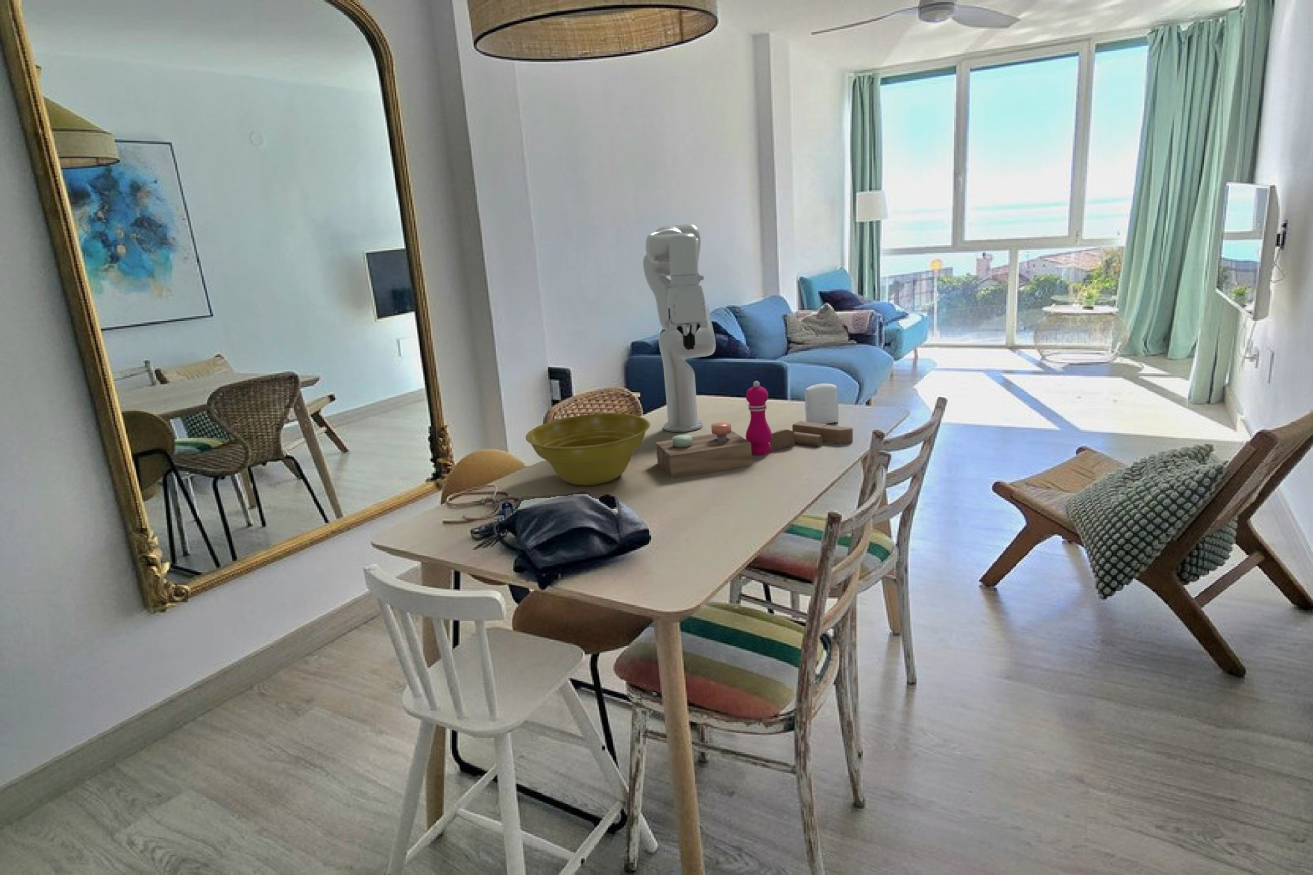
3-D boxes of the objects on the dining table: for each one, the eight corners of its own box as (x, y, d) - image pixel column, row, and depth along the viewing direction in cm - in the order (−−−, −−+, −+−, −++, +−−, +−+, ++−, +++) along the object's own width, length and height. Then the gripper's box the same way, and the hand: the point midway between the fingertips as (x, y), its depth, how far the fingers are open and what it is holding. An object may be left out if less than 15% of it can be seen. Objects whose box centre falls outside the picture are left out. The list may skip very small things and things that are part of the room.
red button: (710, 450, 204) (708, 424, 202) (728, 447, 205) (726, 421, 203) (716, 455, 199) (715, 428, 197) (735, 452, 200) (733, 425, 198)
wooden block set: (797, 417, 221) (853, 423, 210) (797, 435, 223) (853, 442, 211) (765, 430, 209) (823, 438, 198) (766, 450, 211) (824, 458, 199)
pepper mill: (772, 455, 204) (769, 383, 199) (745, 455, 205) (741, 384, 200) (773, 447, 211) (770, 377, 206) (747, 448, 212) (743, 378, 207)
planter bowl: (589, 507, 176) (583, 452, 173) (507, 485, 198) (500, 436, 194) (679, 469, 199) (675, 420, 195) (596, 452, 220) (591, 408, 217)
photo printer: (808, 427, 229) (807, 387, 226) (803, 423, 233) (802, 384, 230) (840, 423, 230) (840, 383, 227) (835, 419, 234) (834, 381, 231)
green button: (672, 463, 202) (669, 436, 200) (690, 460, 203) (688, 433, 201) (677, 468, 197) (675, 441, 195) (696, 465, 198) (694, 438, 196)
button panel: (657, 463, 205) (655, 442, 204) (733, 451, 211) (732, 430, 209) (671, 478, 192) (670, 455, 191) (752, 464, 197) (750, 443, 196)
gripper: (706, 278, 208) (710, 344, 213) (654, 283, 204) (660, 350, 209) (715, 279, 201) (719, 347, 206) (661, 284, 197) (667, 354, 202)
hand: (689, 348), depth 207 cm, fingers closed
